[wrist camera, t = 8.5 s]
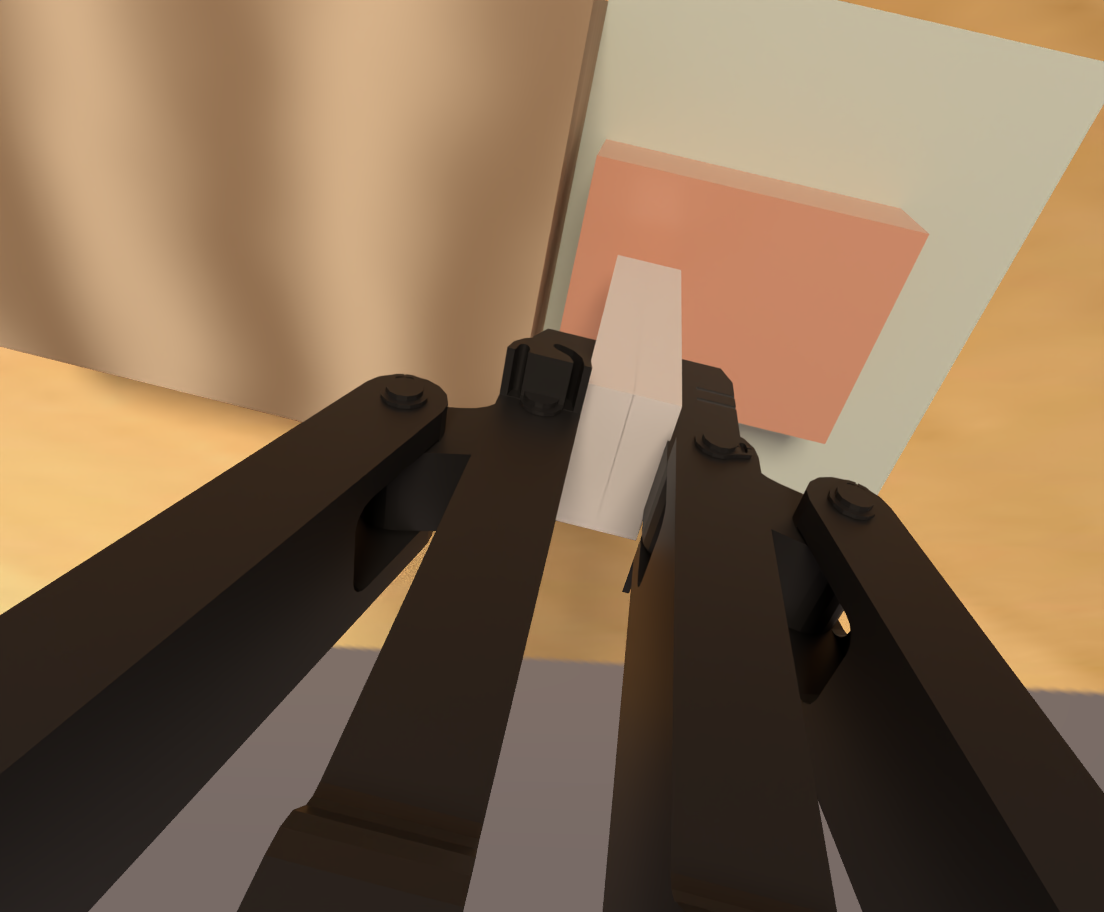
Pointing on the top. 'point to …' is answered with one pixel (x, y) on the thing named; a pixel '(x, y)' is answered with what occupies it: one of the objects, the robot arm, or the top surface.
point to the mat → (851, 165)
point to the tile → (750, 276)
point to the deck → (287, 188)
